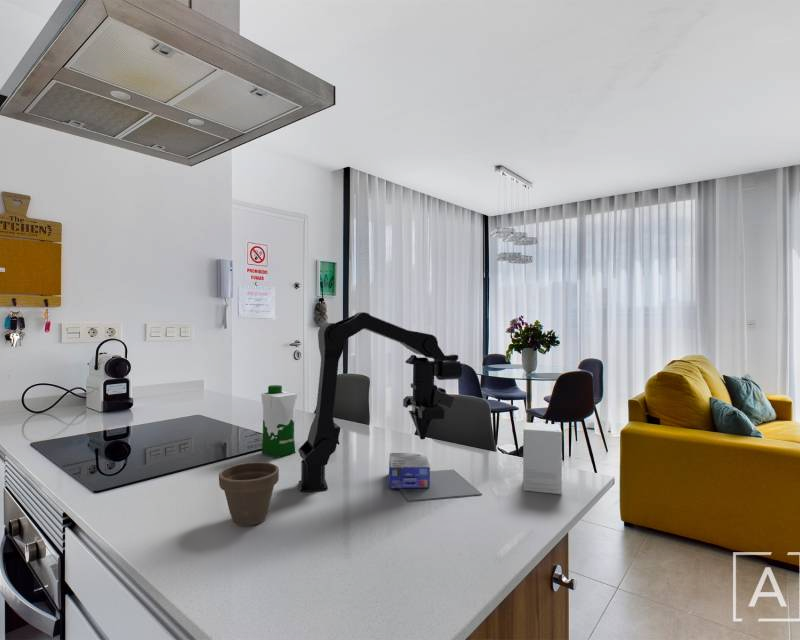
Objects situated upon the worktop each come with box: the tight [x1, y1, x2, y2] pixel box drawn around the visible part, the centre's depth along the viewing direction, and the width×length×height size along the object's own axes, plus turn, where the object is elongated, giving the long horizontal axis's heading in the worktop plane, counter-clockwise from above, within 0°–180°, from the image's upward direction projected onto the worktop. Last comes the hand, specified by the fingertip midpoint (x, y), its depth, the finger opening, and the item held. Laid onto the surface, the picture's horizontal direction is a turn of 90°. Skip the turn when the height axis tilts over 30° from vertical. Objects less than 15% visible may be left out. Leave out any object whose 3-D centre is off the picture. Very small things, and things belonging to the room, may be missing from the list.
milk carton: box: [260, 384, 298, 459], centre depth 140 cm, size 9×9×20 cm
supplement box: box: [522, 421, 563, 495], centre depth 115 cm, size 9×9×15 cm
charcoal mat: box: [398, 469, 483, 503], centre depth 115 cm, size 18×18×1 cm
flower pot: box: [218, 461, 280, 527], centre depth 94 cm, size 12×11×10 cm
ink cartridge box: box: [388, 452, 431, 489], centre depth 116 cm, size 10×6×14 cm
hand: (422, 439), depth 124 cm, fingers closed
